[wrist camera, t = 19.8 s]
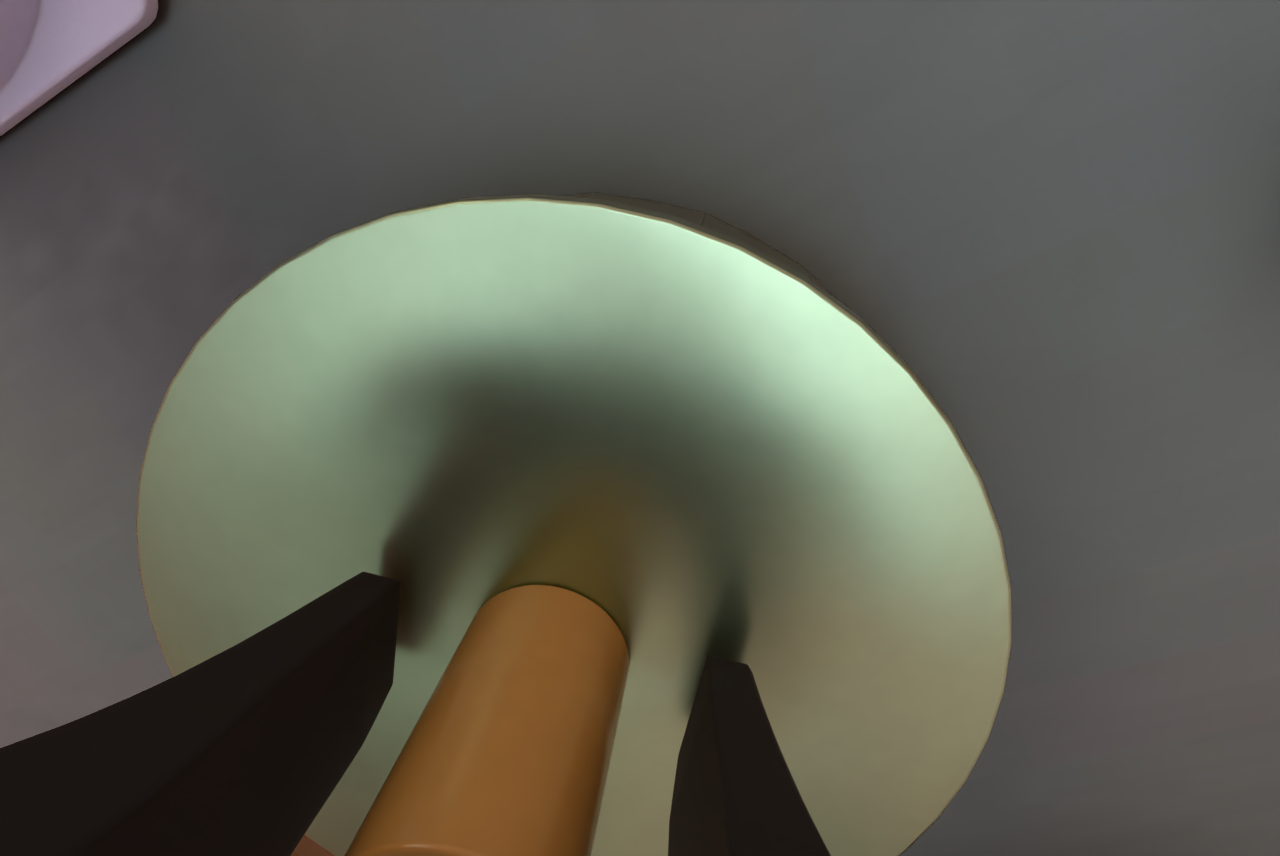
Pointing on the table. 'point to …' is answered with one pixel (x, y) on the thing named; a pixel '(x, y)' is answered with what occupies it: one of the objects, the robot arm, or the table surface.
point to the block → (309, 848)
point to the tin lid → (584, 524)
